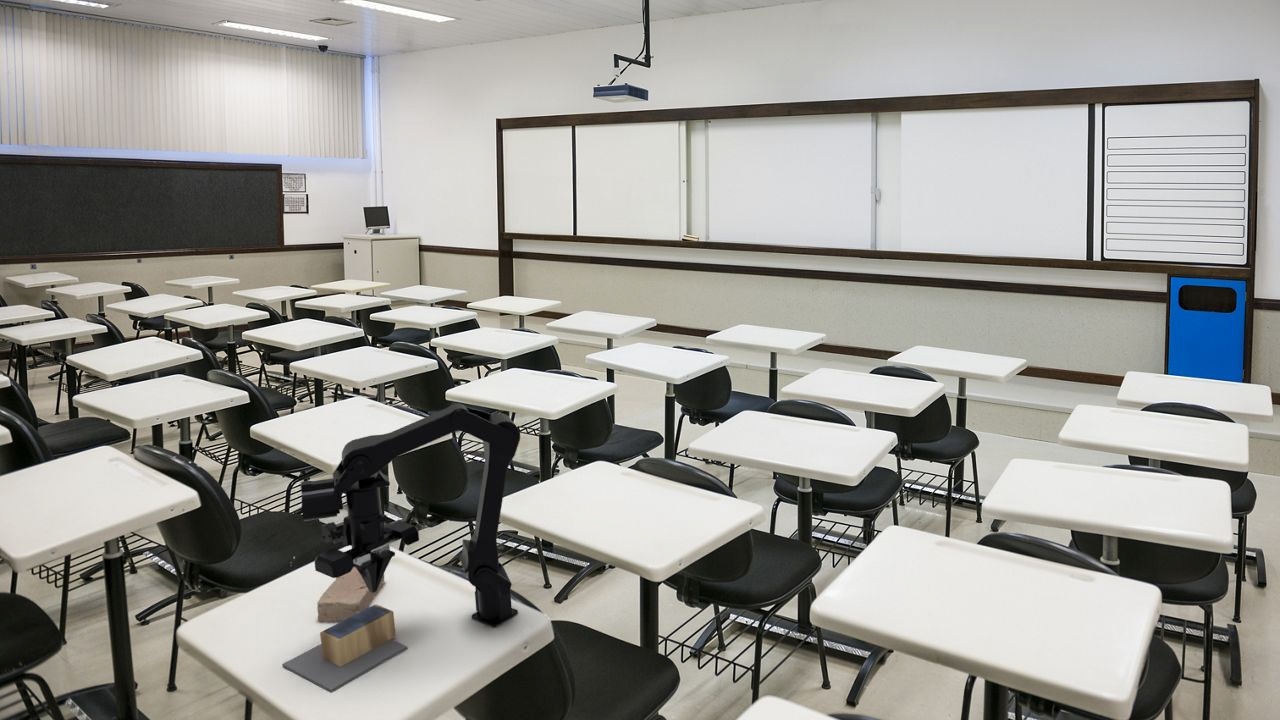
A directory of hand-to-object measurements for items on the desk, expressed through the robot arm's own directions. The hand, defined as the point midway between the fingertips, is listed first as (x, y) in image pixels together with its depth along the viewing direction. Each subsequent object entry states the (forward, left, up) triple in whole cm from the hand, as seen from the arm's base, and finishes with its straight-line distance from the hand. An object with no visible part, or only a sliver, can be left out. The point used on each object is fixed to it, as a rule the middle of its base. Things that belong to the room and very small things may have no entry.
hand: (373, 591), depth 165 cm
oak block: (0, -2, -7) cm, 7 cm away
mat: (0, +7, -10) cm, 12 cm away
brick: (+16, -7, -10) cm, 20 cm away
